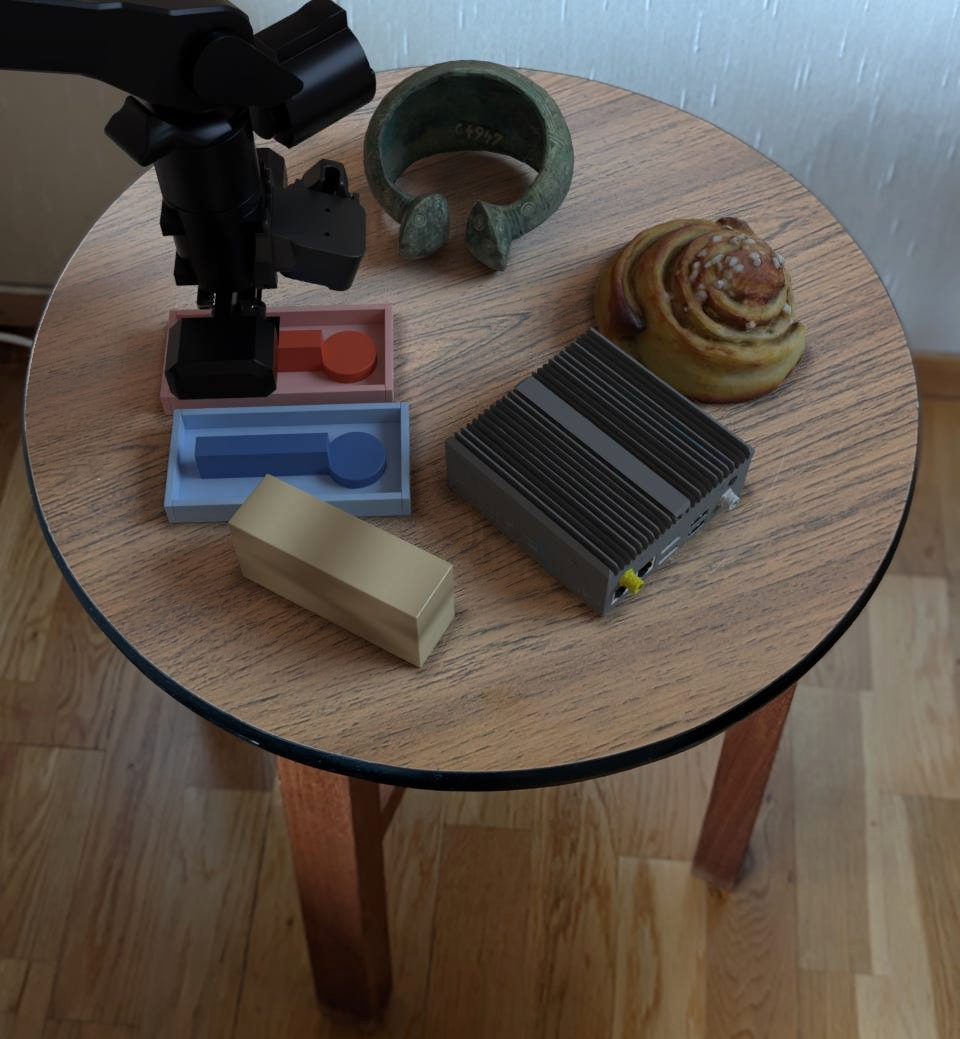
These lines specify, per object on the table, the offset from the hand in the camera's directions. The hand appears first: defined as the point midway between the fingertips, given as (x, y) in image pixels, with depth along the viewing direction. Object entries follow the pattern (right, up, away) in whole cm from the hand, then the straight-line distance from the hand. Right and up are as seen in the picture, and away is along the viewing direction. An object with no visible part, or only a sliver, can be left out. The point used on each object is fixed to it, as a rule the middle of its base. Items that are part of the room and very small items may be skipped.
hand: (249, 356), depth 89 cm
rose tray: (+2, -1, +1) cm, 2 cm away
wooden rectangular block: (+7, -15, -9) cm, 19 cm away
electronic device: (+23, -9, -4) cm, 25 cm away
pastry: (+30, +3, +4) cm, 31 cm away
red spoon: (+3, 0, +1) cm, 3 cm away
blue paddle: (+4, -7, -4) cm, 9 cm away
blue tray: (+3, -8, -4) cm, 9 cm away
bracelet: (+14, +12, +9) cm, 21 cm away
